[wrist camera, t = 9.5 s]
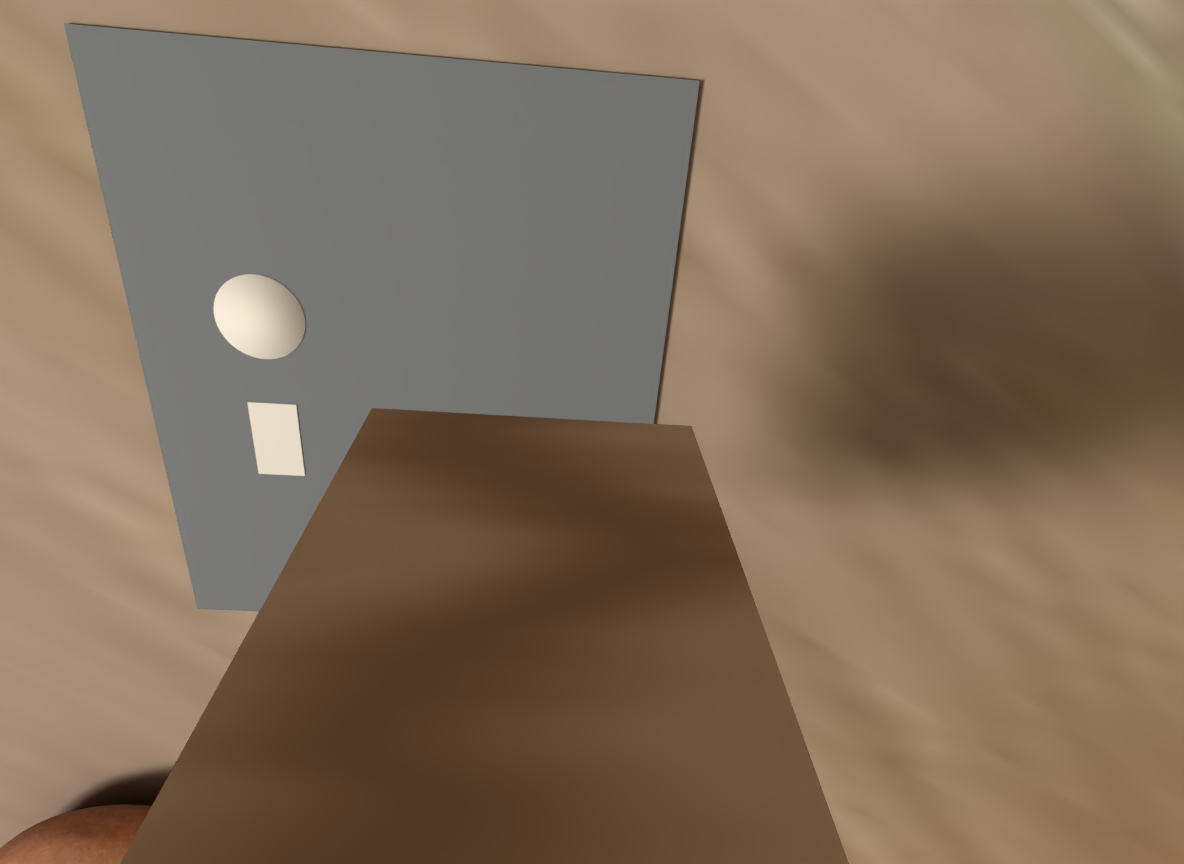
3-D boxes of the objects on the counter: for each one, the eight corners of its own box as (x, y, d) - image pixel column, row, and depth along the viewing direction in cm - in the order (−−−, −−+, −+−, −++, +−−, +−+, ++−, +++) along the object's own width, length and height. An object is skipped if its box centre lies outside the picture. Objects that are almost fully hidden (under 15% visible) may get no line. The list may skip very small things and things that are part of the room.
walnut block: (691, 425, 12) (866, 914, 5) (634, 767, 16) (690, 1299, 9) (372, 407, 12) (94, 909, 5) (395, 763, 16) (265, 1314, 9)
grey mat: (699, 80, 20) (700, 80, 20) (626, 623, 29) (626, 625, 29) (66, 23, 19) (62, 23, 18) (198, 607, 28) (197, 609, 28)
